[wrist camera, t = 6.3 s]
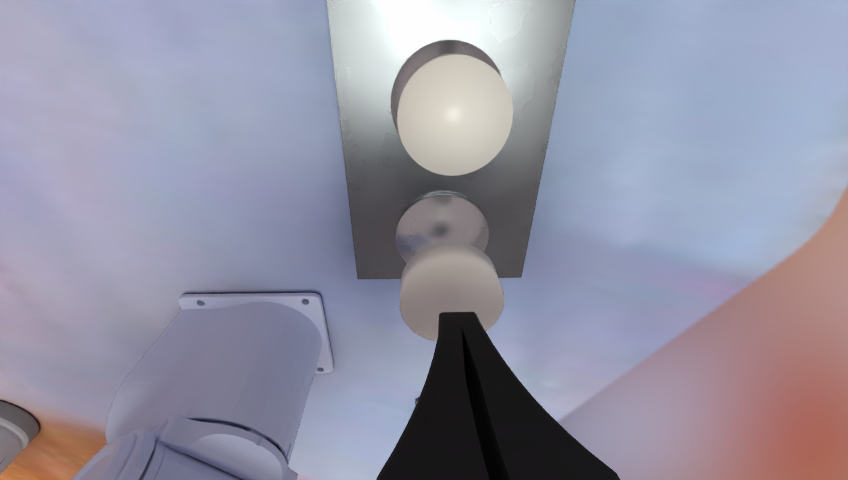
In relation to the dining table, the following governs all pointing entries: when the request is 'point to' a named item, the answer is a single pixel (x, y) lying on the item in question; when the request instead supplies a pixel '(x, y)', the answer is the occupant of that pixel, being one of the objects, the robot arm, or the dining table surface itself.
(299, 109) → the dining table surface
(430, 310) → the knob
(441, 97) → the knob middle
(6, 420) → the travel mug
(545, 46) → the mount
